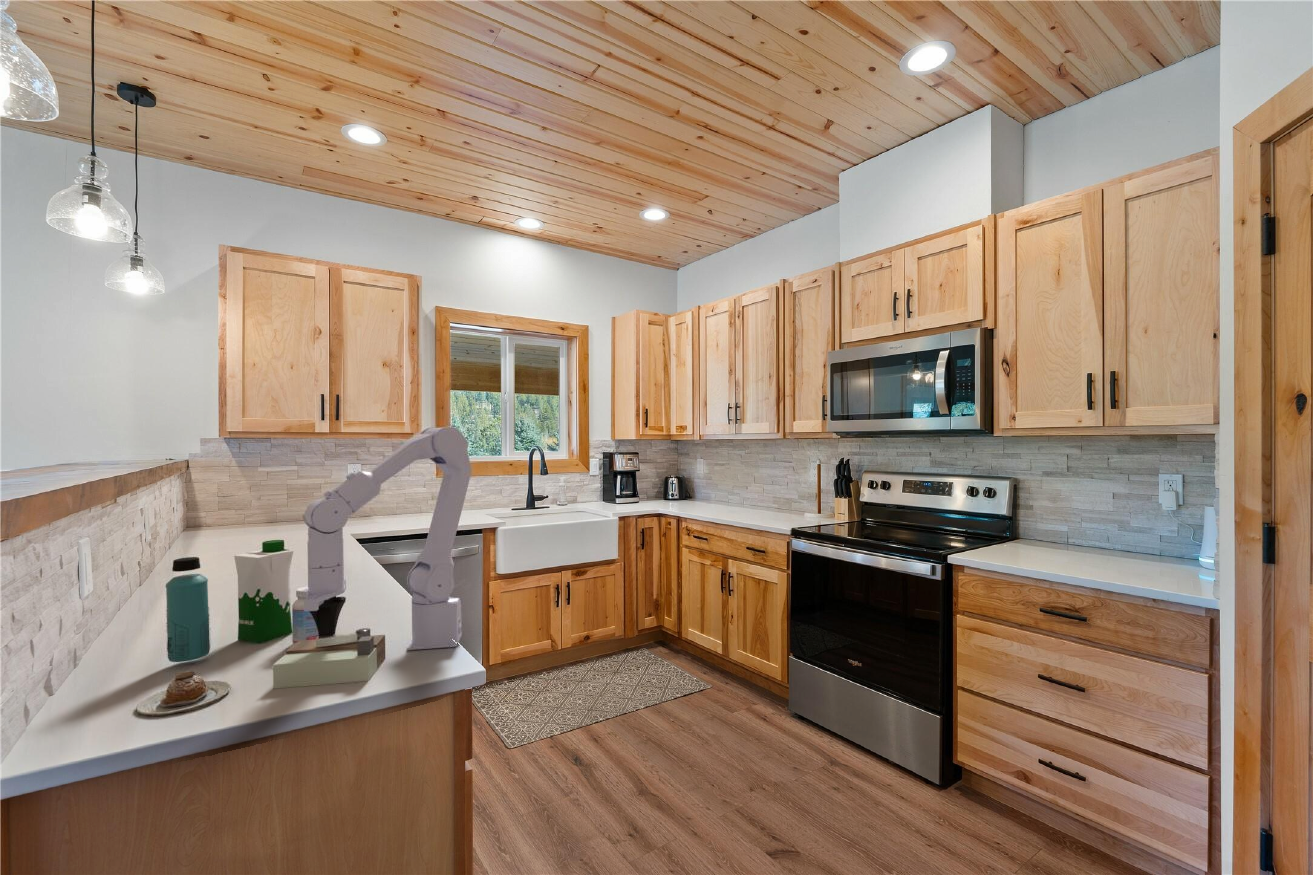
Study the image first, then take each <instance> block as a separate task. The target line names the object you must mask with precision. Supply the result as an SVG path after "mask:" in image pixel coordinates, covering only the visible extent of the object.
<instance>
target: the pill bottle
mask: <svg viewBox="0 0 1313 875" xmlns="http://www.w3.org/2000/svg"><path fill="white" fill-rule="evenodd" d="M304 589H308V585H306V586H302V587H298V588H297V589H295V590H296V591H295V596H296V598H297V599H296V600H295V601H294V602H293V603H292V606H291V608H292V612H291V623H292V633H291V634H292V636H291V637H292V646H293V645H294V644H296V643H297V642H298V641H301V640H315V639H316V638H317V636H319V634H318V630H317V626H316V623H315V621H314V618H313V616H312V615H311V613H310V612H309V611H304V600H305V599H306V598H307V595H301V591H303V590H304Z"/></svg>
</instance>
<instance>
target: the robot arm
mask: <svg viewBox="0 0 1313 875" xmlns="http://www.w3.org/2000/svg"><path fill="white" fill-rule="evenodd" d="M468 446H469V442H468V440H467V439H466V437H465V435H464V434H463V433H462V432H461V431H460V430H459V429H458V428H456V427H453V426H445V427H444V426H443V427H426V428H425V429H423V430H422V431H421V432H420V433H417V434H416V435H414V436H412V437H411V438H409V439H408V440H407V441H405V442H404V443H403V444H402V445H401V446H400V447H398V448H397V449H396V450H394V451H393V452H392V453H391V454H390V455H388V456H387V457H385V459H383V460H382V461H380V462H379V463H378V464H377V465H376V466H374V467H373V468H371V470H369V471H364V470H358V471H357V472H355V473H354V472H350V473H348V474H347V475H346V476H345V478H346V480H344V481H343V482H342V483H340V484H339V485H337V486H336V487H335V488H334V489H332V490H326V491H324V493H323V495H324V498H318V499H315V500H313V501H312V502H310V503H309V504H308V505H307V507H306V509H305V510H304V514H302V519H303V522H304V523H305V525H306V526H307V586H308V589H304V590H303V591H301V595H307V598H306V599H305V600H304V611H309V612H310V613H311V615H312V616H313V618H314V621H315V623H316V626H317V630H318V634H319V636H325V635H334V634H336V632H337V625H338V621H339V617H340V614H341V611H342V608H343V607H344V604H345V603H346V600H347V599H346V598H347V597H346V596H339V595H342V594H344V593H345V592H346V589H347V587H346V586H347V582H346V579H345V577H344V575H345V571H344V570H345V567H344V566H345V565H344V564H345V563H344V558H345V556H344V535H343V533H344V532H343V528H344V527H345V526H346V524H347V522H348V520H349V517H351V516H353V515H354V514H355V513H356V512H358V511H359V510H360V509H362V508H363V507H365V506H366V505H367V504H368V503H370V502H371V501H372V500H373V499H374V498H376V497H377V496H379V495H380V492H381V487H382V484H385V482H386V481H387V480H389V479H391V478H393V477H394V476H395V475H397V474H399V472H401V471H403V470H404V469H406V468H407V467H408V466H409V465H411V464H412V463H415V461H419V460H426V459H429V460H430V461H431V462H433V463H434V464H435V465H436V467H437V468H438V469H439V471H440V472H441V473H442V480H441V483H440V487H439V492H438V494H437V499H436V502H435V506H434V507H435V508H434V511H433V514H432V518H431V522H430V525H429V529H428V533H427V537H426V541H425V545H424V548H423V550H422V551H421V552H420V553H419V554H418V556H417V558H416V560H415V563H414V566H413V567H412V568H411V569H410V571H408V574H407V576H406V584H407V587H408V589H409V590H410V591H411V592H412V597H411V636H412V637H411V640H410V642H409V643H408V644H407V646H406V651H414V650H428V649H440V648H441V649H443V648H455V647H457V646H458V644H459V642H460V640H461V638H462V635H463V631H462V630H463V627H462V601H461V598H460V597H451V596H450V595H451V593H452V592H453V590H454V587H455V579H454V569H455V562H454V561H453V560H454V559H453V557H452V551H453V547H454V542H455V540H456V535H457V531H458V526H459V523H460V520H461V519H460V518H461V514H462V511H463V506H464V503H465V500H466V496H467V491H468V487H469V483H470V480H471V477H472V466H471V465H472V464H471V460H470V456H469V452H468ZM452 639H453V640H455V642H457V643H458V644H456V643H455V642H454V641H453V640H452Z"/></svg>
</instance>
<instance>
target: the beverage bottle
mask: <svg viewBox="0 0 1313 875" xmlns="http://www.w3.org/2000/svg"><path fill="white" fill-rule="evenodd" d="M200 562H201V560H200V558H199V556H198V557H197V556H187V557H180V558H175V559H174V560H173V561H172V568H171V569H172V570H171V571H172V572H177V573H179V572H189V571H194V570H195V571H196V570H198V569H201V563H200ZM208 582H209V578H208V577H206V576H204V575H203V574H202V573H191V574H190V573H189V574H181V575H177V576H174V577H172V578H171V579H170V580H169V581H168V582H166V583H165V588H166V591H165V593H166V609H165V612H166V615H165V616H166V622H165V624H166V625H165V626H166V629H165V631H166V634H167V635H166V651H167V653H166V656H167V659H168V661H169V662H170V663H183V662H184V663H185V662H189V661H194V660H198V659H201V658H203V657H206V656H207V655H209V654H210V651H211V649H212V647H211V644H212V642H211V637H210V621H211V620H210V619H211V618H210V611H211V610H210V607H209V589H208V588H209V586H208Z"/></svg>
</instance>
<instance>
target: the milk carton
mask: <svg viewBox="0 0 1313 875" xmlns="http://www.w3.org/2000/svg"><path fill="white" fill-rule="evenodd" d="M293 554H294V550H290V549H285V540H284V539H273V540H266V541H265V540H264V541H263V542H262V543H261V549H260V550H255V551H247V552H245V553H240V554H235V555H233V558H234V562H235V568H236V573H237V600H238V601H237V603H238V604H237V605H238V607H237V610H238V611H237V612H238V621H237V623H238V624H237V640H238V641H241V642H246V643H254V644H259V645H260V644H264V643H267V642H270V641H273V640H276V639H279V638H282V637H284V636H287V635H291V634H292V612H291V571H290V570H291V565H292V559H293Z"/></svg>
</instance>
